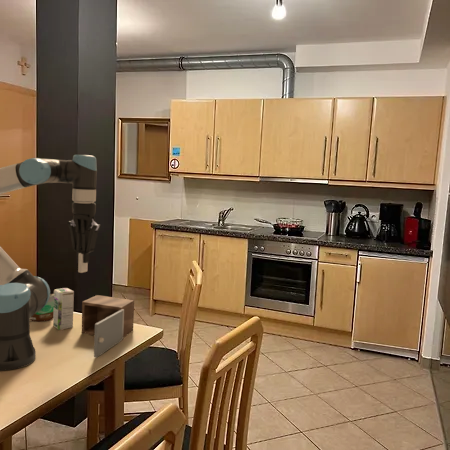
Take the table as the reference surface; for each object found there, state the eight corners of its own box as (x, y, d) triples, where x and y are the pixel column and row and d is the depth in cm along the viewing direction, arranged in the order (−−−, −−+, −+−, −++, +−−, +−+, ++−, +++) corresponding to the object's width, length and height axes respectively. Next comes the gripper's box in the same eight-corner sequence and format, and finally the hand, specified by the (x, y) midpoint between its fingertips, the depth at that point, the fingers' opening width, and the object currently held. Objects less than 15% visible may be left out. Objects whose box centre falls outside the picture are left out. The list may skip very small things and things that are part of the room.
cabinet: (81, 333, 168) (82, 301, 166) (96, 324, 178) (96, 295, 176) (120, 339, 164) (121, 307, 162) (133, 330, 173) (134, 300, 172)
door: (120, 338, 164) (121, 309, 162) (126, 339, 163) (127, 310, 162) (93, 356, 147) (94, 324, 146) (100, 357, 146) (100, 325, 145)
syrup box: (52, 326, 173) (53, 289, 172) (67, 323, 177) (68, 287, 176) (58, 330, 169) (59, 292, 168) (73, 327, 173) (74, 290, 172)
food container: (34, 325, 173) (35, 299, 172) (26, 321, 177) (26, 296, 176) (63, 318, 183) (63, 294, 182) (54, 314, 187) (55, 290, 186)
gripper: (107, 203, 150) (105, 272, 153) (78, 200, 156) (77, 267, 159) (90, 204, 143) (89, 276, 146) (61, 200, 149) (60, 270, 152)
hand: (82, 271), depth 152 cm, fingers closed
